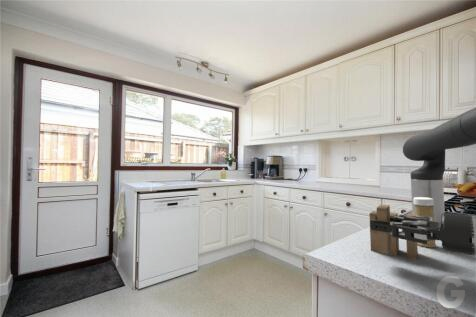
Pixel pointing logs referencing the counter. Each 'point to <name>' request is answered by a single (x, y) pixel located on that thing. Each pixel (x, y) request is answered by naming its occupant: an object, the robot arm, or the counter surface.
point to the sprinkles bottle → (425, 214)
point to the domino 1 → (383, 237)
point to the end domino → (373, 233)
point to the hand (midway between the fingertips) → (373, 222)
